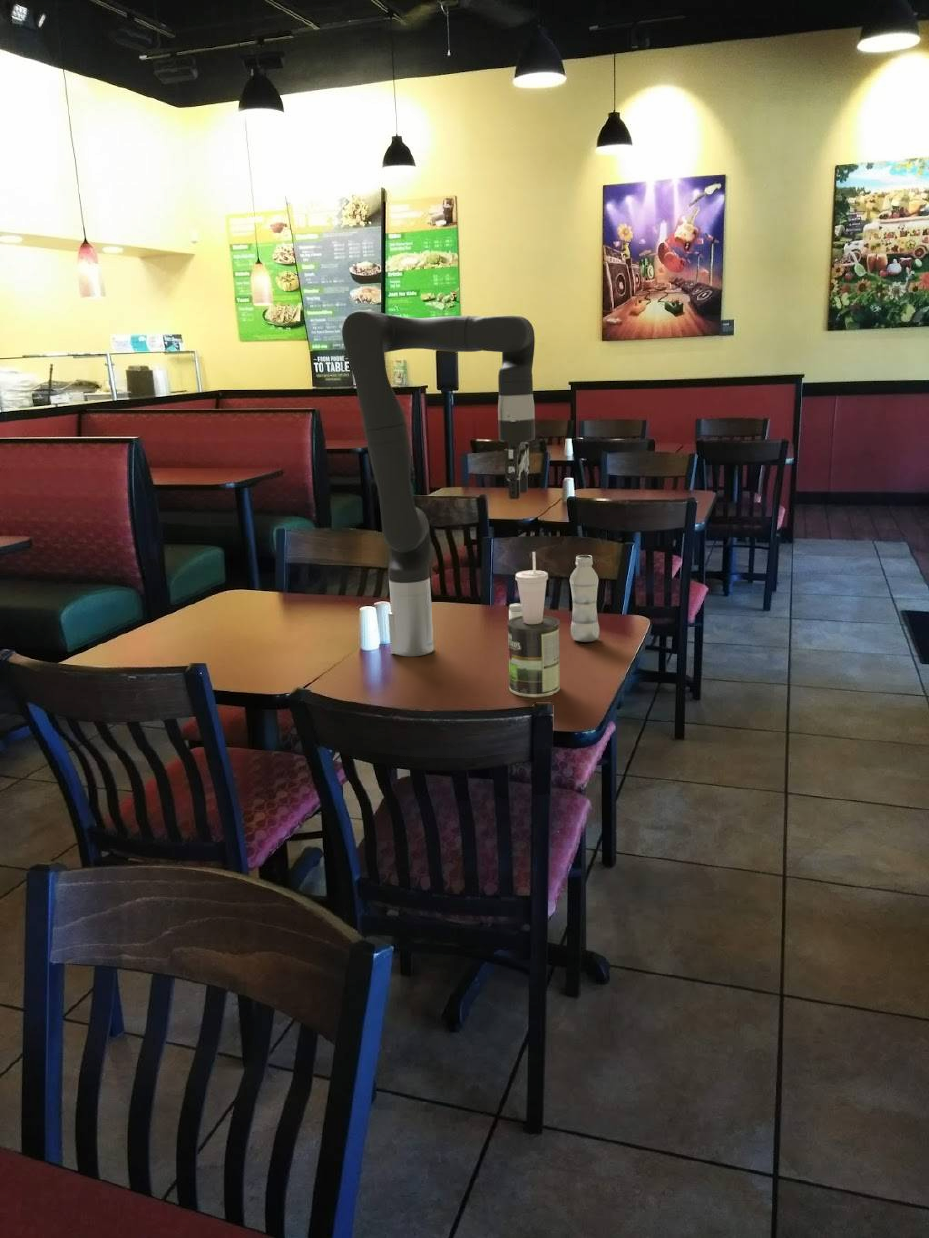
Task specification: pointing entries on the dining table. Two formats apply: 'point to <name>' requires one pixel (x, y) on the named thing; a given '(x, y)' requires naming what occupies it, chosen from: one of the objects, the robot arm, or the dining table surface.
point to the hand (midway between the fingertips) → (518, 495)
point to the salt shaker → (515, 610)
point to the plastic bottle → (584, 600)
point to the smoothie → (532, 593)
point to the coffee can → (533, 657)
